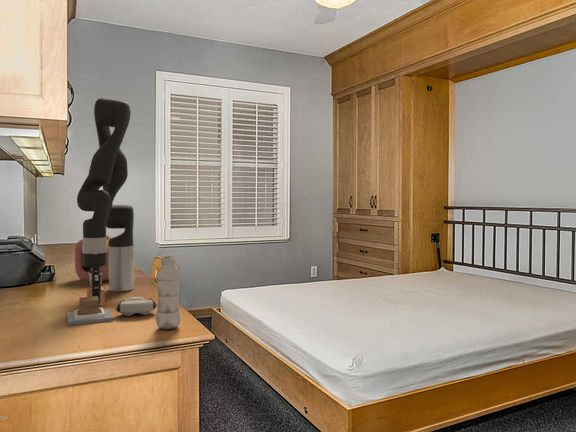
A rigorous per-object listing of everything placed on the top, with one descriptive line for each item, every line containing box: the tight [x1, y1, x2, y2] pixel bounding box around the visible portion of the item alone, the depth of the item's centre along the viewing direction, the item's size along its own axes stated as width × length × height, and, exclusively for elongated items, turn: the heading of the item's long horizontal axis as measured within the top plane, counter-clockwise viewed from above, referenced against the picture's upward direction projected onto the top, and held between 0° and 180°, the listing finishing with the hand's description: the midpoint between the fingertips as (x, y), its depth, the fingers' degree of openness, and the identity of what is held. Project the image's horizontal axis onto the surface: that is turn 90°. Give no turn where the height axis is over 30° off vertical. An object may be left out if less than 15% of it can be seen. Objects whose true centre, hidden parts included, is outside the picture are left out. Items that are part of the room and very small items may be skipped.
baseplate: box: [66, 307, 114, 327], centre depth 139 cm, size 12×12×2 cm
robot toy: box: [114, 296, 158, 317], centre depth 147 cm, size 12×4×15 cm
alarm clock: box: [74, 235, 111, 282], centre depth 203 cm, size 18×11×19 cm, turn 67°
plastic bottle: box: [155, 255, 182, 330], centre depth 129 cm, size 6×7×20 cm
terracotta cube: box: [86, 286, 105, 306], centre depth 152 cm, size 5×5×5 cm
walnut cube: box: [79, 296, 100, 315], centre depth 139 cm, size 5×5×5 cm
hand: (95, 302), depth 152 cm, fingers closed on terracotta cube, 5 cm apart
